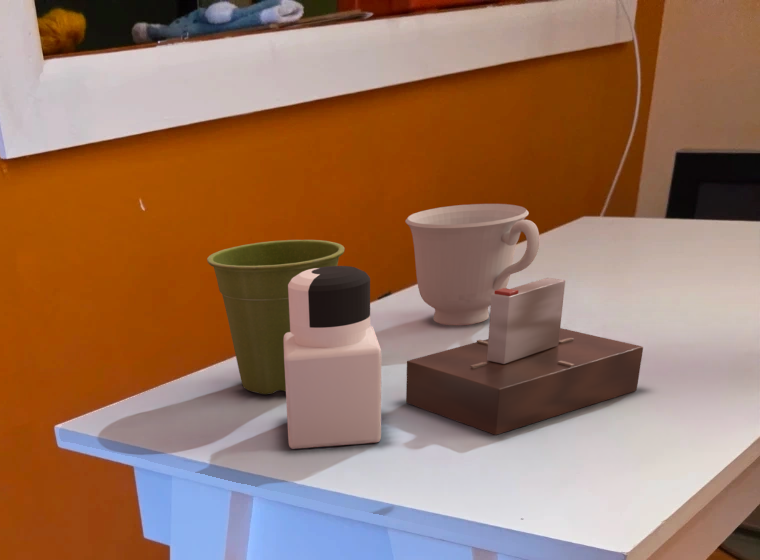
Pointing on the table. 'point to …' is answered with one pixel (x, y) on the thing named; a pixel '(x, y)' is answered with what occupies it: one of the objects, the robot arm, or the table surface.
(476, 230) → the teacup
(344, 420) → the medicine bottle
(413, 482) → the table surface
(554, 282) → the tap handle
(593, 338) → the tap base
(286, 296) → the plant pot
